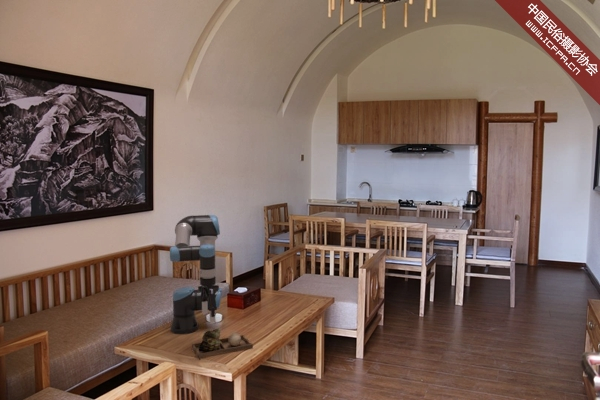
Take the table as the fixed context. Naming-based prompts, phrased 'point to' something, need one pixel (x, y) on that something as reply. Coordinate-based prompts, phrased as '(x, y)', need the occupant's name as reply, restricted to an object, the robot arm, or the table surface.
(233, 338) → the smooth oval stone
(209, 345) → the seashell
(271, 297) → the table surface
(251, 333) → the table surface
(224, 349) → the holder
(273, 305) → the table surface
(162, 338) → the table surface
